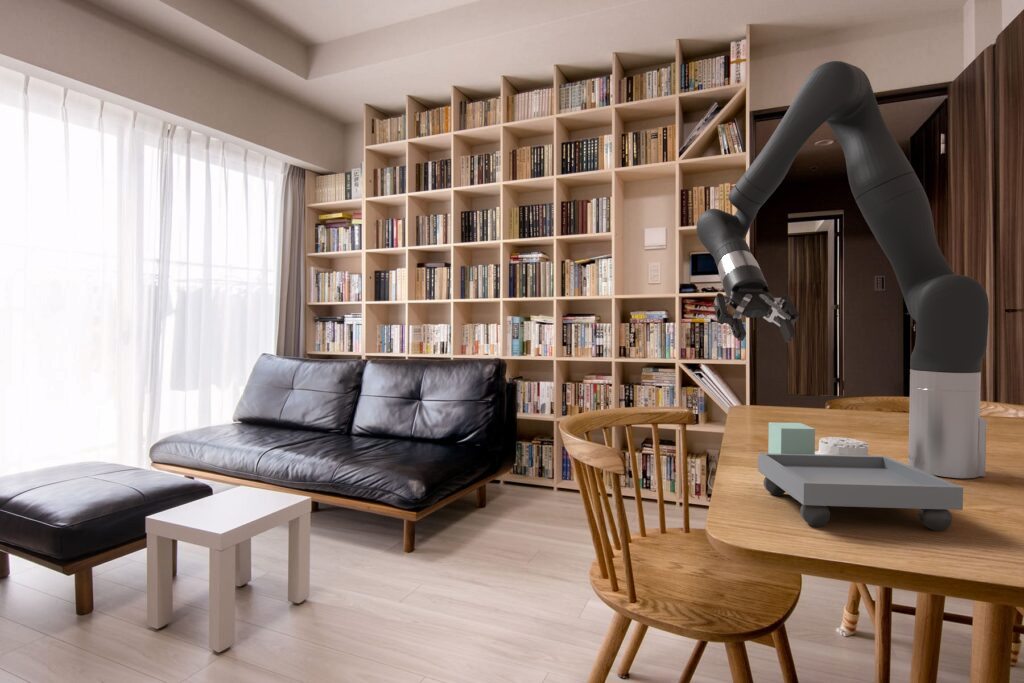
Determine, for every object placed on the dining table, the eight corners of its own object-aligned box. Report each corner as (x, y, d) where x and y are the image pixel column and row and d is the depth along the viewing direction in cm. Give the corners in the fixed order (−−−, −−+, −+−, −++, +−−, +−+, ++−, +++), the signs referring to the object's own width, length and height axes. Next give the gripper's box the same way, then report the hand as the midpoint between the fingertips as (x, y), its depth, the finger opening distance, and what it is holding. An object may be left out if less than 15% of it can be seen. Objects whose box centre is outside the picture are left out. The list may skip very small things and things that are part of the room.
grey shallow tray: (884, 494, 76) (885, 455, 76) (962, 534, 62) (963, 487, 61) (757, 490, 78) (758, 453, 78) (803, 529, 63) (803, 483, 63)
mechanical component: (823, 470, 90) (887, 473, 88) (823, 445, 90) (888, 448, 88) (803, 456, 100) (860, 459, 98) (803, 433, 100) (861, 435, 98)
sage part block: (799, 477, 85) (800, 422, 85) (814, 486, 80) (815, 428, 80) (768, 476, 86) (768, 422, 86) (780, 485, 81) (781, 428, 81)
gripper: (711, 263, 101) (733, 323, 90) (784, 264, 101) (815, 325, 90) (700, 291, 107) (720, 351, 96) (770, 292, 106) (797, 352, 96)
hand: (766, 338), depth 93 cm, fingers open, 8 cm apart
